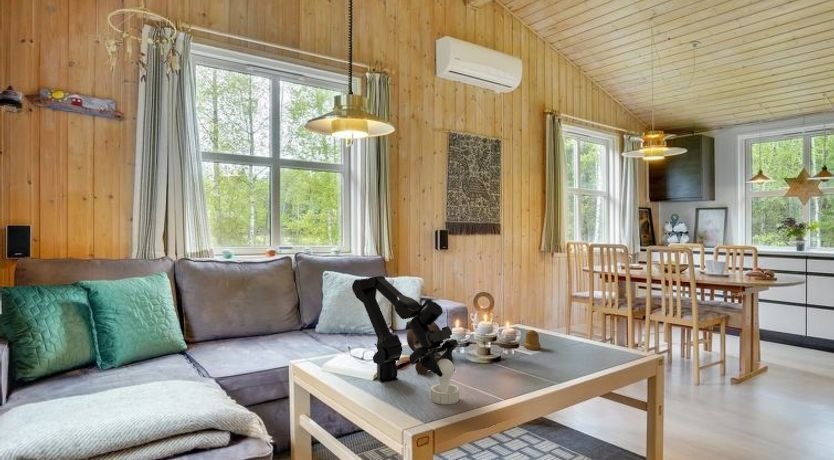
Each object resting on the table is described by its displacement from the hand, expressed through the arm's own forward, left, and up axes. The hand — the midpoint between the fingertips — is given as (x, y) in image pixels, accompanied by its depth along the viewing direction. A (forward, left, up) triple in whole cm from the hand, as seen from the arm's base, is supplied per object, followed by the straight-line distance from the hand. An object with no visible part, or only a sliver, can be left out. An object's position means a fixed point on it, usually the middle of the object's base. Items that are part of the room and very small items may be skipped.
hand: (447, 373), depth 154 cm
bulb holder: (0, +1, -8) cm, 9 cm away
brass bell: (+65, +40, -9) cm, 77 cm away
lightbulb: (0, +1, -7) cm, 7 cm away
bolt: (+10, +30, -9) cm, 33 cm away
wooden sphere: (+16, +50, -9) cm, 53 cm away
